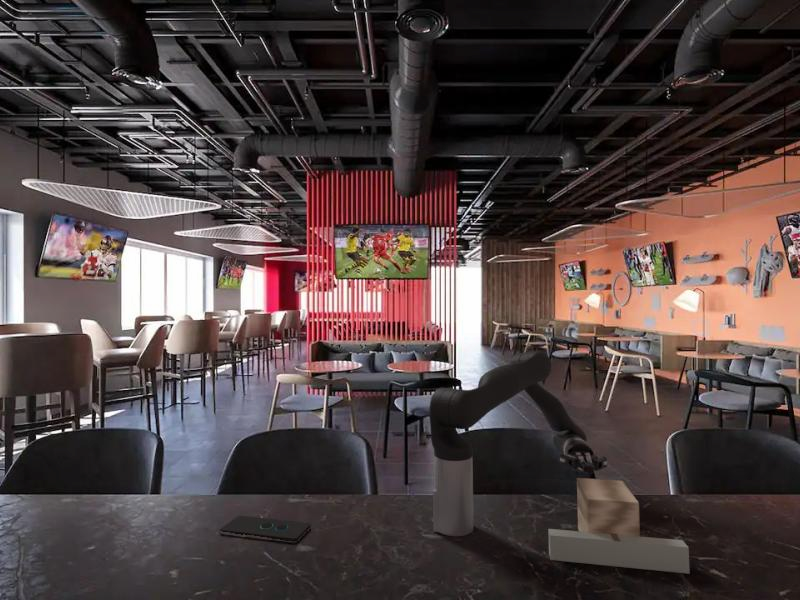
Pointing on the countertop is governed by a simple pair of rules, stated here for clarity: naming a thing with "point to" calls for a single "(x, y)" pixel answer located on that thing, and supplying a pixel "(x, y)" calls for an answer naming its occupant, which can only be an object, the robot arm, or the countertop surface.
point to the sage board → (619, 550)
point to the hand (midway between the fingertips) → (589, 470)
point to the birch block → (607, 507)
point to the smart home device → (267, 528)
